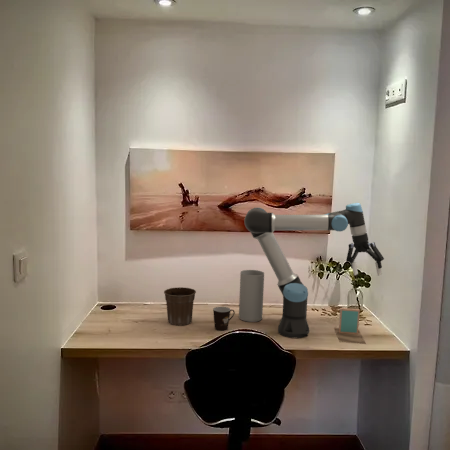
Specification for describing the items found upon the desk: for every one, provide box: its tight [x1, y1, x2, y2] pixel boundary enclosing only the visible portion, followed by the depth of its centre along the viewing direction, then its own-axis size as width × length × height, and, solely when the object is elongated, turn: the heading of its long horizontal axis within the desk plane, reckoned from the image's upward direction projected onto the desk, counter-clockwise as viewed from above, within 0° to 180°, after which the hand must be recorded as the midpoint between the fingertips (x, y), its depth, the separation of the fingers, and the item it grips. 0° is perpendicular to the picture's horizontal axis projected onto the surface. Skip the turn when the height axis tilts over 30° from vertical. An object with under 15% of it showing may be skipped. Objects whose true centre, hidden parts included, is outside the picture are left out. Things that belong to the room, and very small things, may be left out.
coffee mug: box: [212, 306, 236, 332], centre depth 225 cm, size 12×9×10 cm
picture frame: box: [338, 307, 361, 334], centre depth 221 cm, size 2×9×12 cm, turn 84°
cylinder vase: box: [238, 269, 265, 323], centre depth 240 cm, size 12×12×25 cm
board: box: [333, 327, 367, 345], centre depth 219 cm, size 19×12×1 cm, turn 174°
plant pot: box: [163, 287, 197, 326], centre depth 232 cm, size 16×16×16 cm
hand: (367, 274), depth 229 cm, fingers open, 13 cm apart
